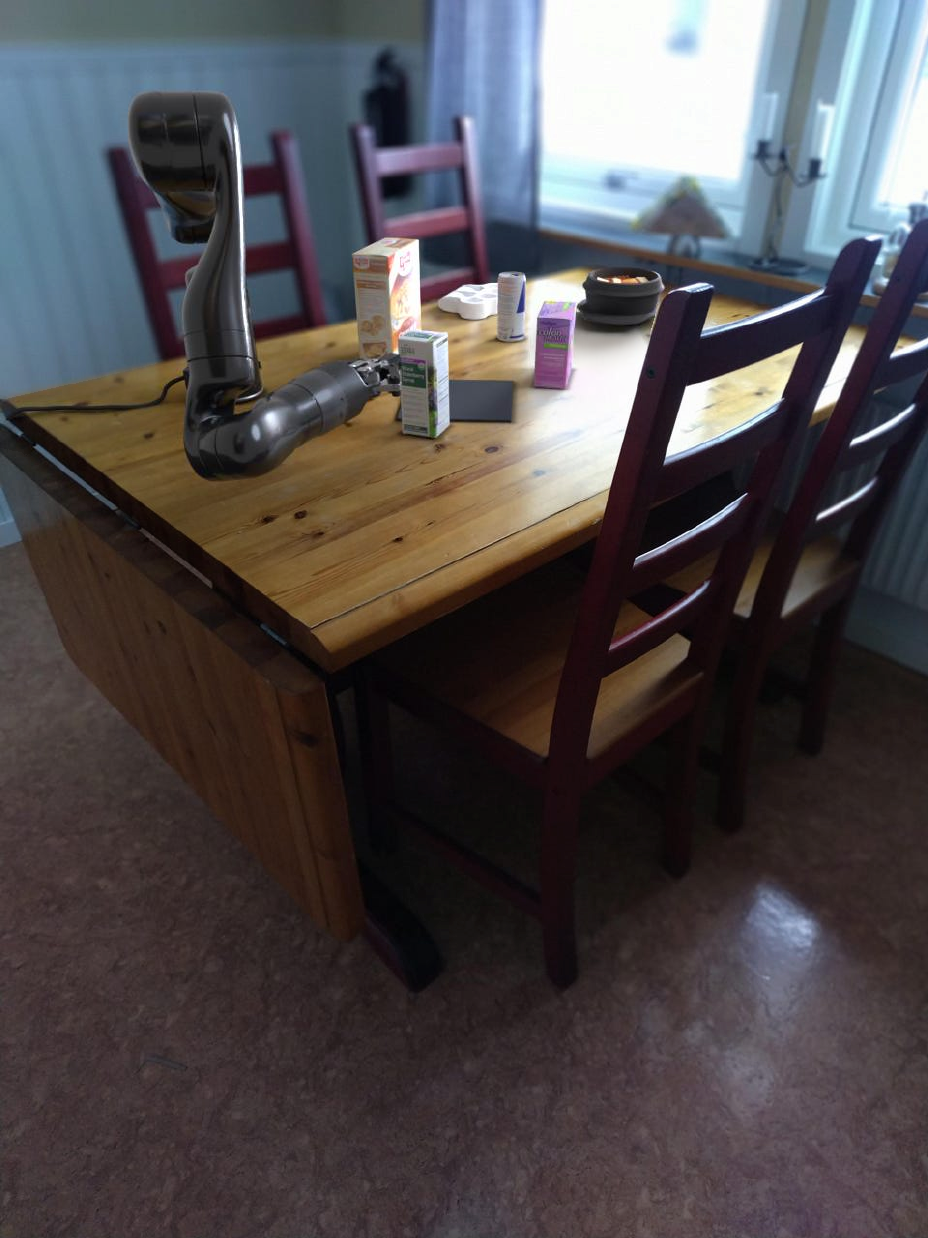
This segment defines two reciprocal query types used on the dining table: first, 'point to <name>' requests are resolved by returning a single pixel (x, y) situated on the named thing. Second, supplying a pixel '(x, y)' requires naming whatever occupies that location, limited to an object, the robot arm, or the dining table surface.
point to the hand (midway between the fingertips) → (396, 360)
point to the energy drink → (511, 306)
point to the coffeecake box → (386, 294)
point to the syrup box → (424, 382)
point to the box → (554, 344)
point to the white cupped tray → (472, 301)
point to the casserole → (621, 295)
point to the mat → (479, 401)
